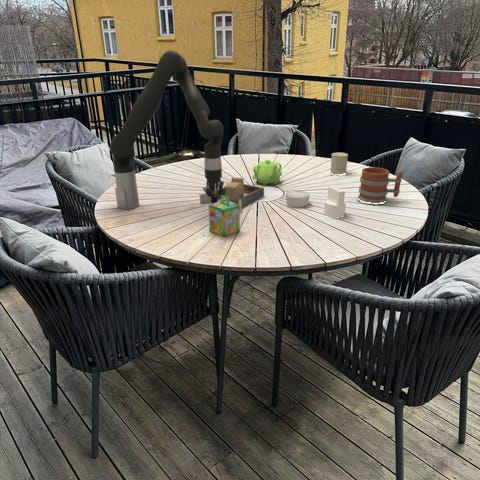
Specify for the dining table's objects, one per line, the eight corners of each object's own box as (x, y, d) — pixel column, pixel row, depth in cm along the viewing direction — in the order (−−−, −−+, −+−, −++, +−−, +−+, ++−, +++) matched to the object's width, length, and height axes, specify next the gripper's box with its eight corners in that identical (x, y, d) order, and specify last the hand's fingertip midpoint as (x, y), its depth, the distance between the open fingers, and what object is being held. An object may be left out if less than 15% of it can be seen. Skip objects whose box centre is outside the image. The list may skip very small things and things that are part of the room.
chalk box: (208, 231, 171) (207, 196, 165) (225, 224, 177) (224, 191, 171) (224, 237, 165) (223, 202, 159) (240, 231, 171) (240, 196, 165)
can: (326, 173, 246) (328, 152, 240) (339, 171, 249) (341, 150, 244) (336, 177, 238) (338, 156, 233) (349, 174, 241) (351, 154, 236)
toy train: (244, 195, 211) (244, 176, 207) (236, 207, 196) (235, 186, 192) (234, 194, 213) (233, 175, 208) (224, 206, 198) (224, 185, 193)
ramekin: (310, 201, 202) (311, 191, 200) (307, 209, 192) (308, 198, 190) (287, 199, 205) (287, 189, 203) (283, 207, 195) (283, 196, 193)
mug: (355, 195, 209) (358, 165, 202) (395, 196, 206) (399, 166, 200) (358, 205, 196) (362, 174, 190) (401, 206, 194) (406, 174, 188)
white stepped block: (320, 212, 188) (322, 187, 183) (337, 209, 191) (339, 184, 186) (331, 219, 181) (333, 193, 175) (348, 216, 183) (351, 190, 178)
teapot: (287, 181, 232) (288, 159, 227) (276, 188, 221) (277, 165, 215) (261, 177, 239) (261, 155, 234) (249, 184, 228) (249, 161, 223)
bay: (240, 213, 189) (240, 203, 187) (199, 203, 201) (198, 194, 199) (269, 197, 208) (270, 188, 206) (230, 189, 220) (230, 181, 218)
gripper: (210, 171, 178) (212, 210, 185) (228, 165, 188) (229, 201, 195) (196, 169, 182) (198, 207, 189) (215, 162, 191) (216, 198, 199)
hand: (214, 204), depth 192 cm, fingers closed
